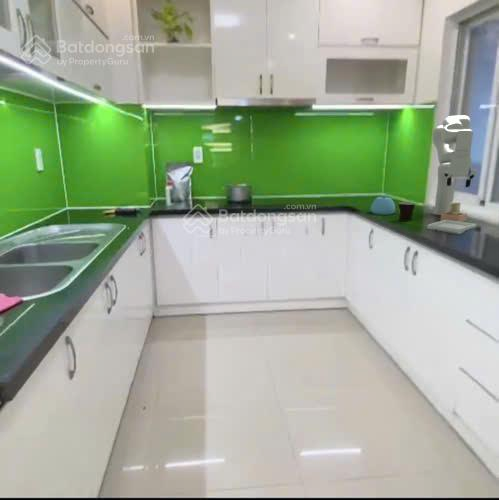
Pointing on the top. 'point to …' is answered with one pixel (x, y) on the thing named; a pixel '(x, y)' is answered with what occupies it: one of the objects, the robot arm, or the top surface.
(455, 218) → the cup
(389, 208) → the sugar bowl
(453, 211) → the beige vase
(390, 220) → the top surface
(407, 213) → the coffee mug
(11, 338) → the top surface
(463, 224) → the tray
